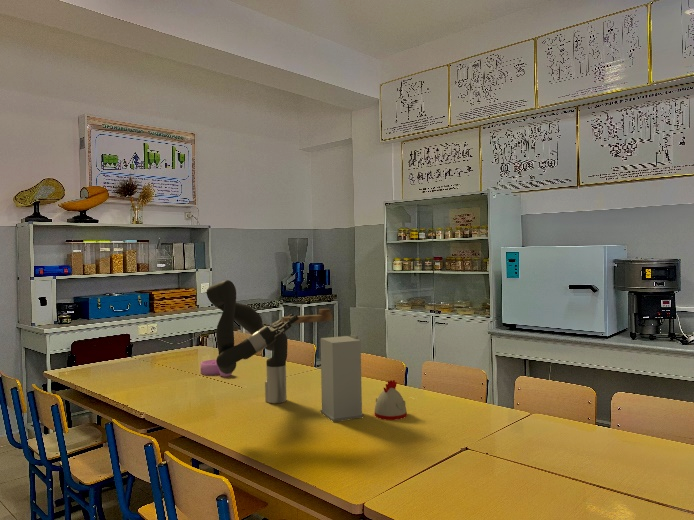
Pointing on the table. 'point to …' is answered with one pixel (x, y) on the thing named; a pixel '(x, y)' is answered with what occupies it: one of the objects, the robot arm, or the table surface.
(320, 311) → the brown wooden bar
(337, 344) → the pedestal
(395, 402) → the white chicken figure
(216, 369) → the pink rounded piece
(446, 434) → the table surface
